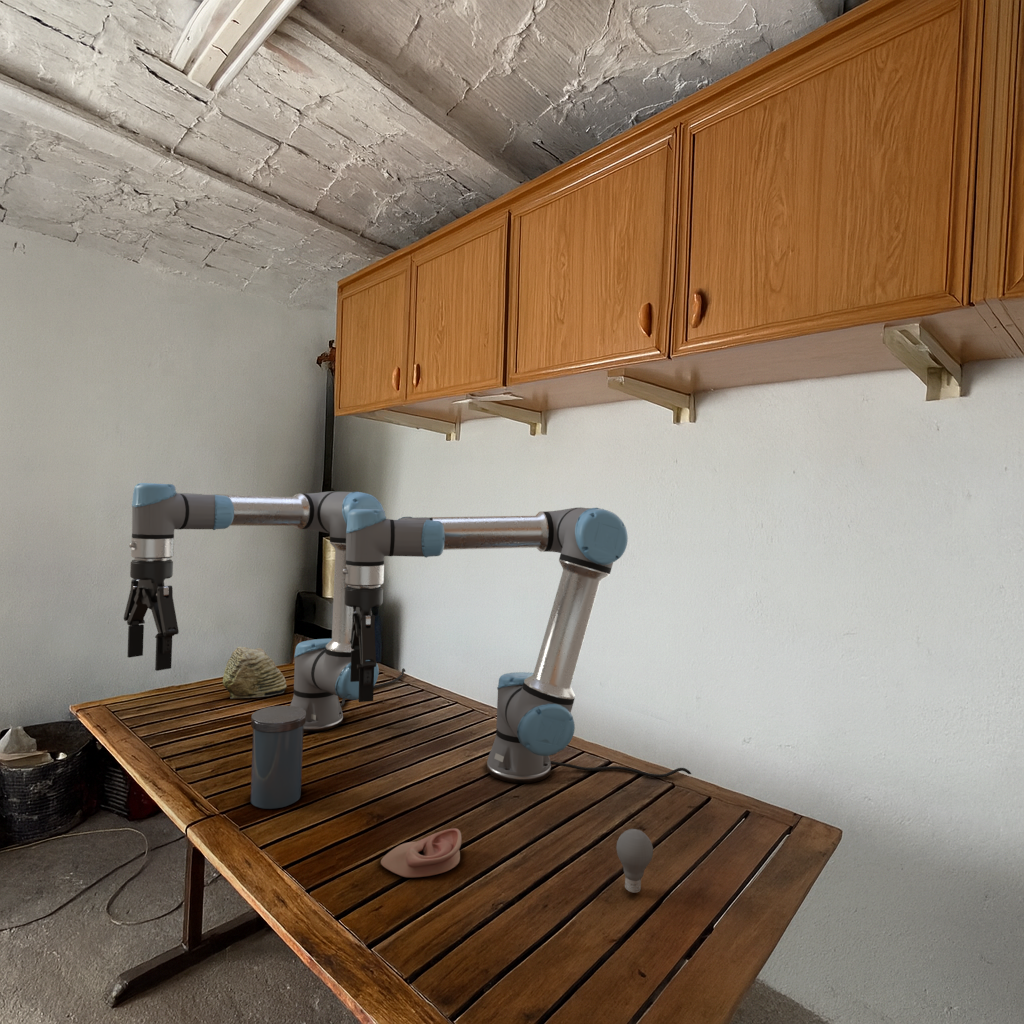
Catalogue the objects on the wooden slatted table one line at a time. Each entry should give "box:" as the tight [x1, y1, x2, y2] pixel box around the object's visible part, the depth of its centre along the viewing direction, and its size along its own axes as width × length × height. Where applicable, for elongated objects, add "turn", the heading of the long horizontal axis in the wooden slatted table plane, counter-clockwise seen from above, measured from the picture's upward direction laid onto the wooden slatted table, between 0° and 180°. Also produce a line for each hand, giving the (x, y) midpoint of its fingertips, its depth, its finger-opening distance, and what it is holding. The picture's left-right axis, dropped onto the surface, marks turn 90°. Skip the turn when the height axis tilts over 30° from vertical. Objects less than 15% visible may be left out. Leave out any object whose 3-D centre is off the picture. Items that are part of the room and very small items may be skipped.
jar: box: [250, 725, 304, 810], centre depth 133 cm, size 10×10×17 cm
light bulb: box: [615, 828, 654, 894], centre depth 106 cm, size 6×6×10 cm
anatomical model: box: [380, 827, 462, 879], centre depth 112 cm, size 13×4×12 cm
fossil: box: [222, 646, 288, 699], centre depth 198 cm, size 9×18×15 cm, turn 132°
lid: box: [250, 705, 306, 732], centre depth 132 cm, size 11×11×2 cm
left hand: (148, 662), depth 129 cm, fingers open, 13 cm apart
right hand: (361, 690), depth 128 cm, fingers open, 13 cm apart
